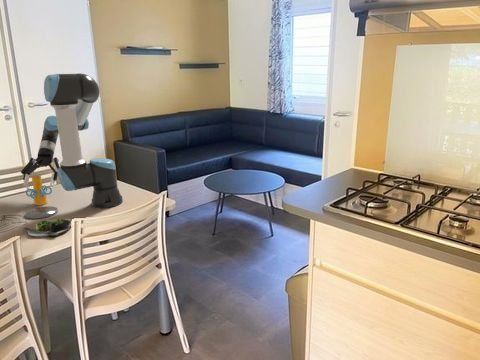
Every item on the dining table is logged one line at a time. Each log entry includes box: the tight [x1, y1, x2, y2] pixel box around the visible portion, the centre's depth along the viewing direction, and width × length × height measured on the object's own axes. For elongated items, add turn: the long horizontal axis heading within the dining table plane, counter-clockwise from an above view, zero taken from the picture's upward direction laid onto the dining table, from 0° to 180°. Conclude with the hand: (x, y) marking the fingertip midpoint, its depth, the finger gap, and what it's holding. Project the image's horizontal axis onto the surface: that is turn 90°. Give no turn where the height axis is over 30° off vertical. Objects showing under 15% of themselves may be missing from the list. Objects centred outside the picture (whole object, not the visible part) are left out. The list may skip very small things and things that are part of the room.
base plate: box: [24, 205, 59, 220], centre depth 185 cm, size 14×14×1 cm
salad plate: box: [22, 218, 72, 238], centre depth 166 cm, size 19×18×5 cm
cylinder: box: [25, 174, 53, 206], centre depth 196 cm, size 12×10×15 cm
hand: (38, 186), depth 197 cm, fingers open, 13 cm apart
